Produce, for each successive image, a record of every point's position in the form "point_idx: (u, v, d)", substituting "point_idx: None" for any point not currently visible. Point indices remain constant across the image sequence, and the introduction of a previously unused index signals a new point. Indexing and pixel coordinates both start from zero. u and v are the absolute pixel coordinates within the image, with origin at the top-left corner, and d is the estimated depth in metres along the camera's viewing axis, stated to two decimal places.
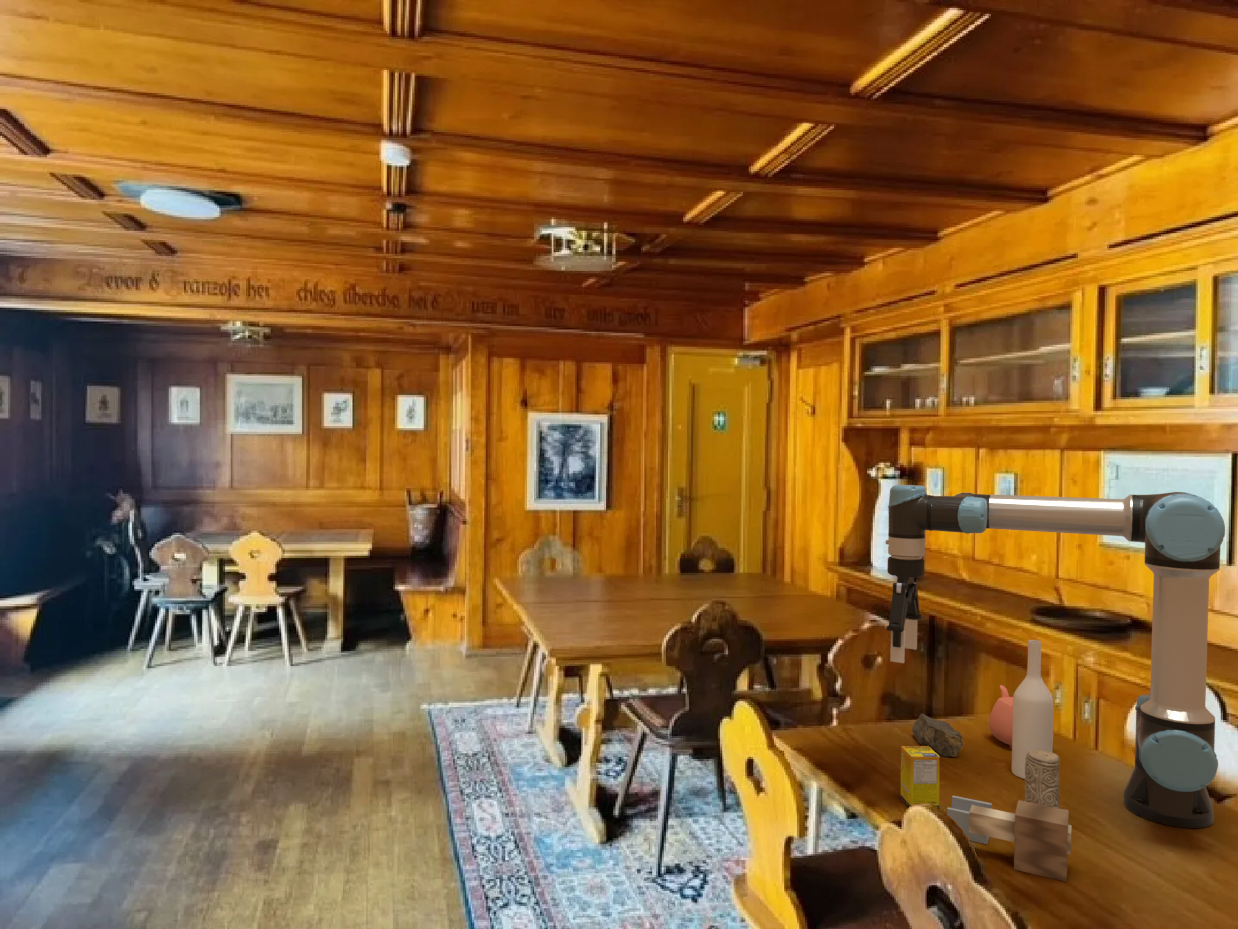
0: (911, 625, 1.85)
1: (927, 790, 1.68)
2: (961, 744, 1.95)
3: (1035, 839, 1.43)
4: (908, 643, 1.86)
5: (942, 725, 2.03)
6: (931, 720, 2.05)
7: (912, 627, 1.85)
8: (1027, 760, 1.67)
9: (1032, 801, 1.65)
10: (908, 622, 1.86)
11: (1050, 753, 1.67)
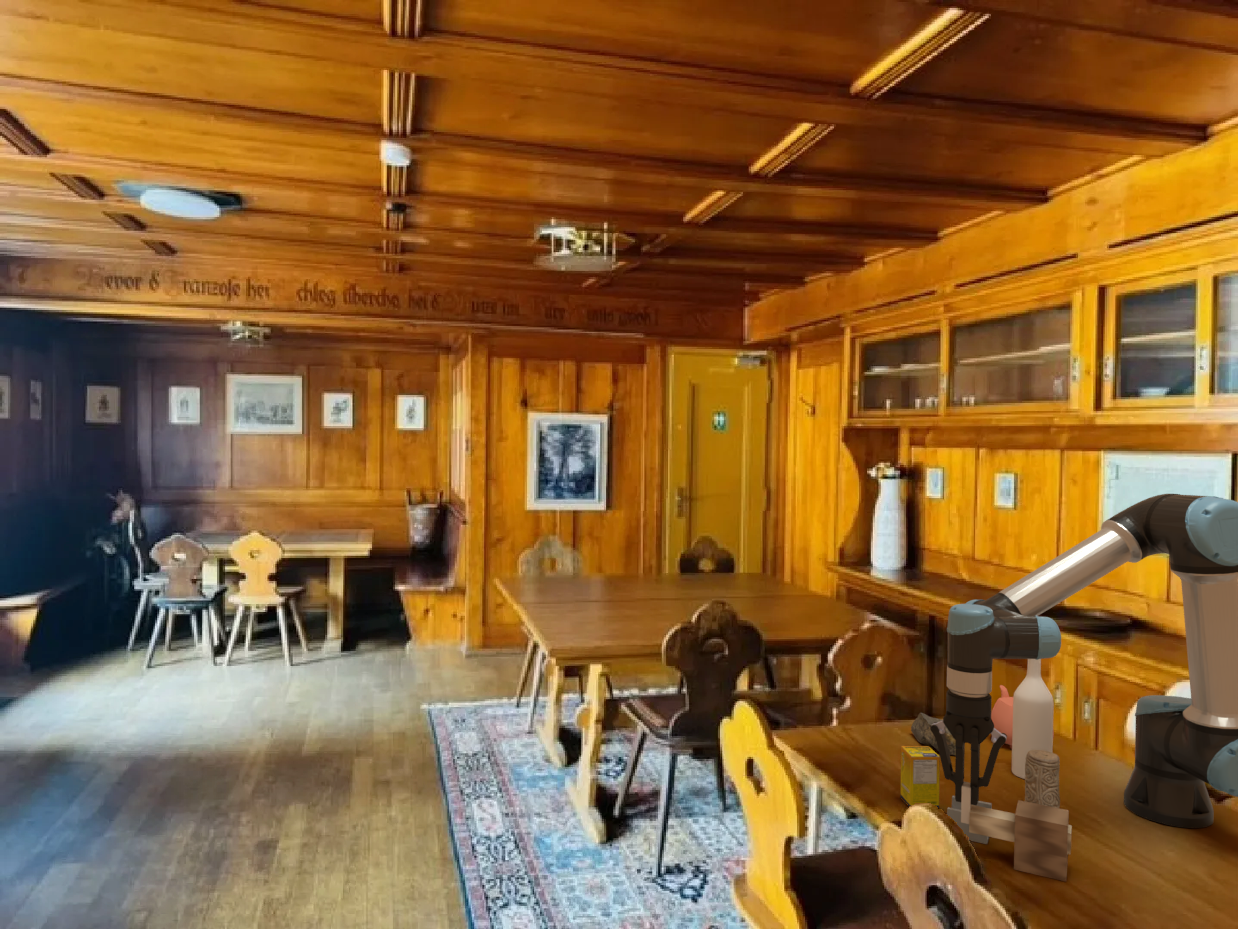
0: None
1: (927, 790, 1.68)
2: None
3: (1035, 839, 1.43)
4: None
5: None
6: (931, 719, 2.06)
7: None
8: (1027, 760, 1.67)
9: (1032, 801, 1.65)
10: None
11: (1050, 753, 1.67)
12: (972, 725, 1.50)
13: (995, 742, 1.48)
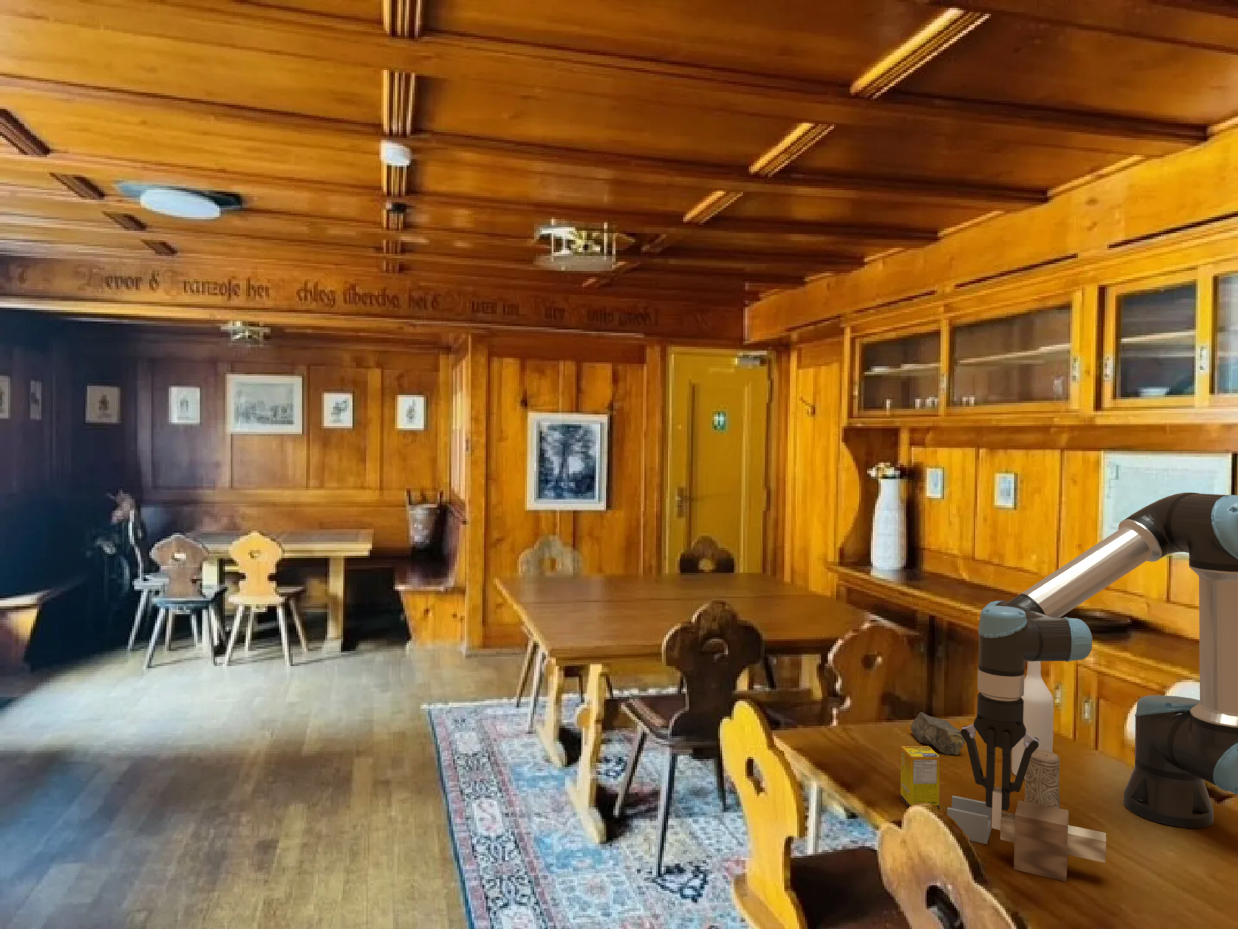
0: None
1: (927, 790, 1.68)
2: (963, 742, 1.96)
3: (1035, 839, 1.43)
4: None
5: (942, 723, 2.04)
6: (931, 718, 2.06)
7: None
8: None
9: (1032, 801, 1.65)
10: None
11: (1050, 753, 1.67)
12: (1004, 729, 1.47)
13: (1027, 747, 1.45)
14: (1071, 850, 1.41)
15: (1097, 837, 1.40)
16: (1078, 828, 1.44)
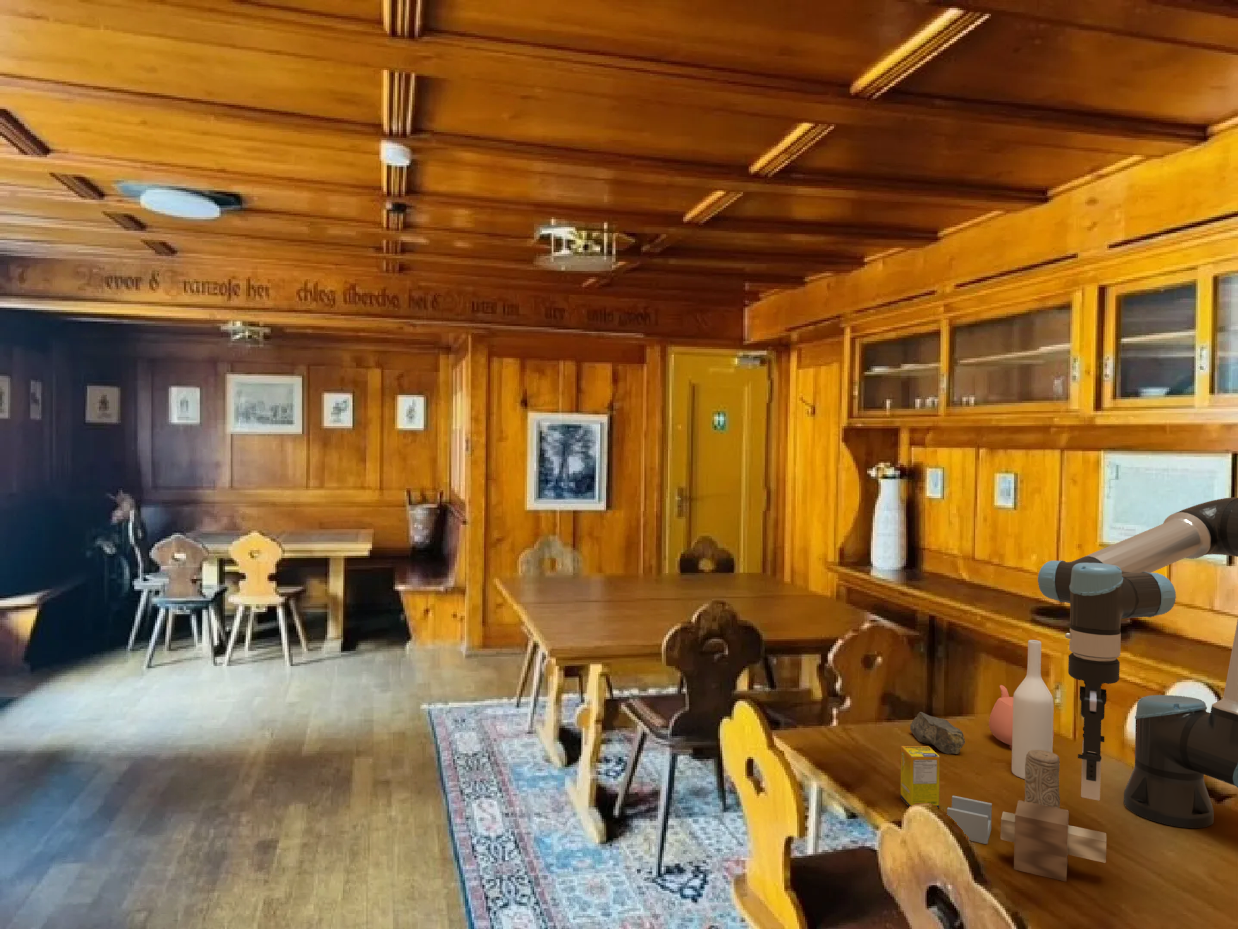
0: None
1: (927, 790, 1.68)
2: (963, 741, 1.97)
3: (1035, 839, 1.43)
4: None
5: (942, 723, 2.04)
6: (930, 718, 2.06)
7: (1094, 752, 1.45)
8: (1027, 760, 1.67)
9: (1032, 801, 1.65)
10: None
11: (1050, 753, 1.67)
12: (1100, 690, 1.41)
13: None
14: (1071, 850, 1.41)
15: (1097, 837, 1.40)
16: (1078, 828, 1.43)
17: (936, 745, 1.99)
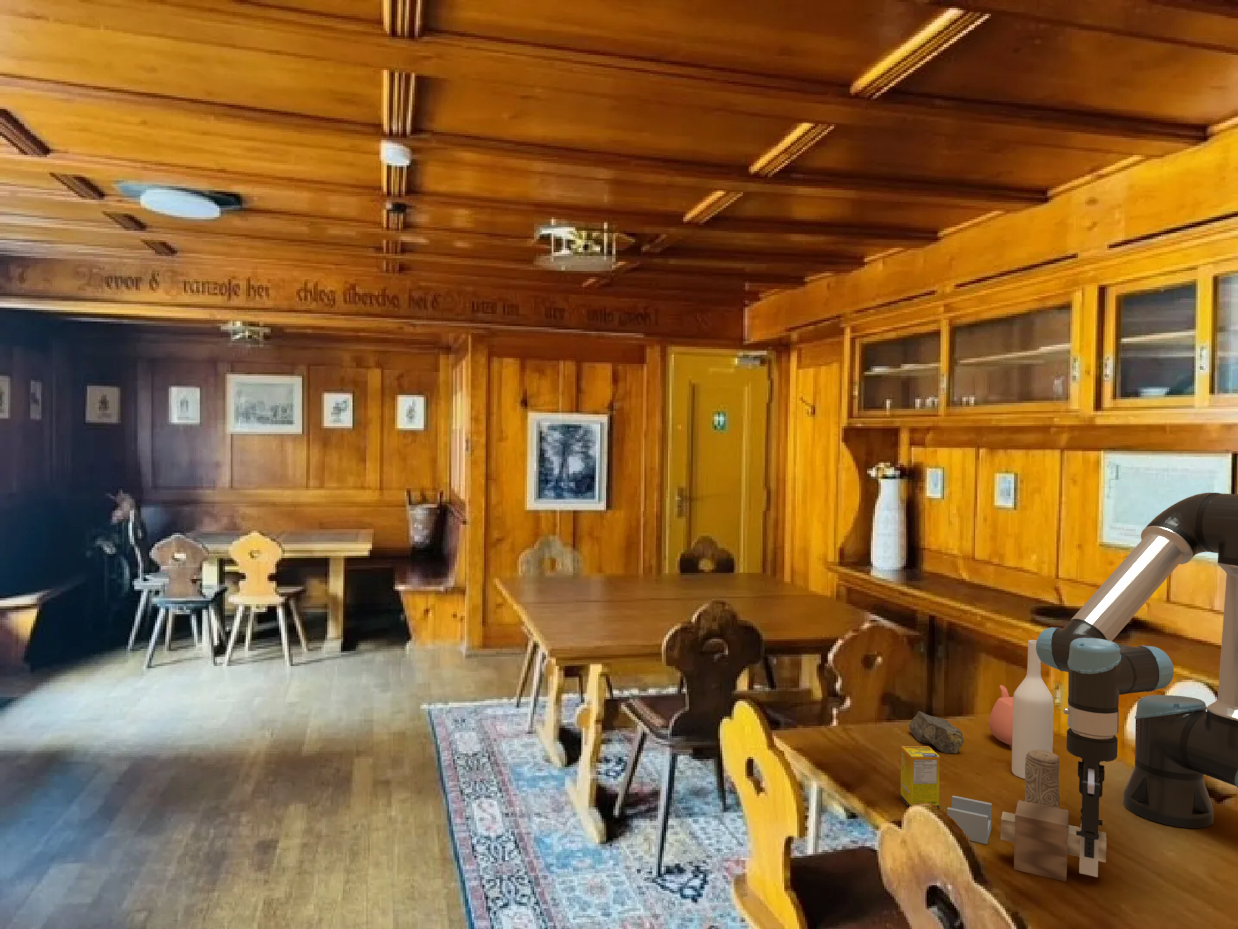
0: None
1: (927, 790, 1.68)
2: (962, 740, 1.97)
3: (1035, 839, 1.43)
4: None
5: (941, 722, 2.05)
6: (929, 717, 2.07)
7: None
8: (1027, 760, 1.67)
9: (1032, 801, 1.65)
10: None
11: (1050, 753, 1.67)
12: (1098, 765, 1.42)
13: None
14: (1071, 850, 1.41)
15: None
16: (1078, 828, 1.44)
17: (935, 744, 2.00)
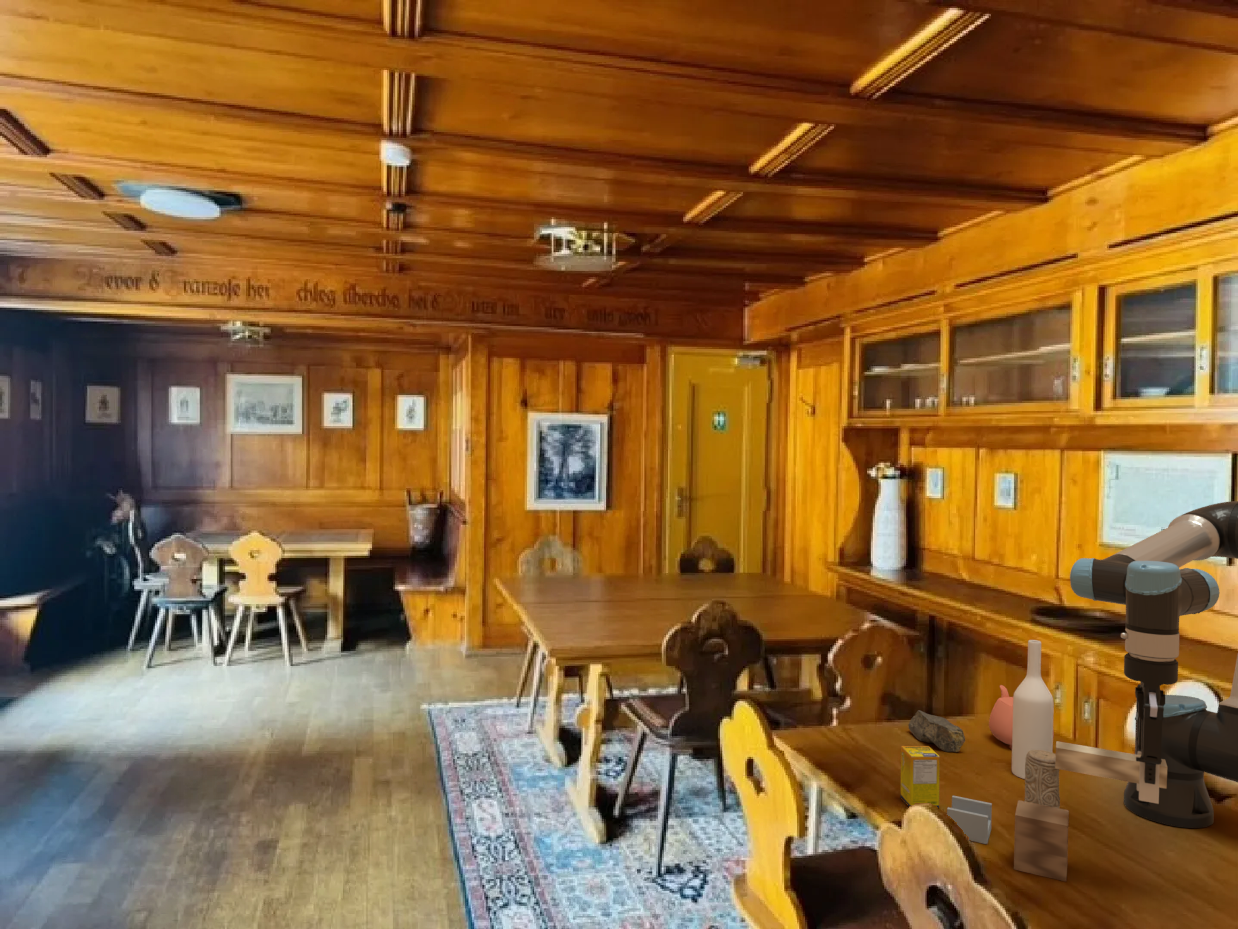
0: None
1: (927, 790, 1.68)
2: (963, 739, 1.98)
3: (1035, 839, 1.43)
4: None
5: (941, 721, 2.06)
6: (929, 716, 2.08)
7: None
8: (1027, 760, 1.67)
9: (1032, 801, 1.65)
10: None
11: (1050, 753, 1.67)
12: None
13: None
14: (1130, 777, 1.38)
15: None
16: (1136, 755, 1.40)
17: (936, 743, 2.01)
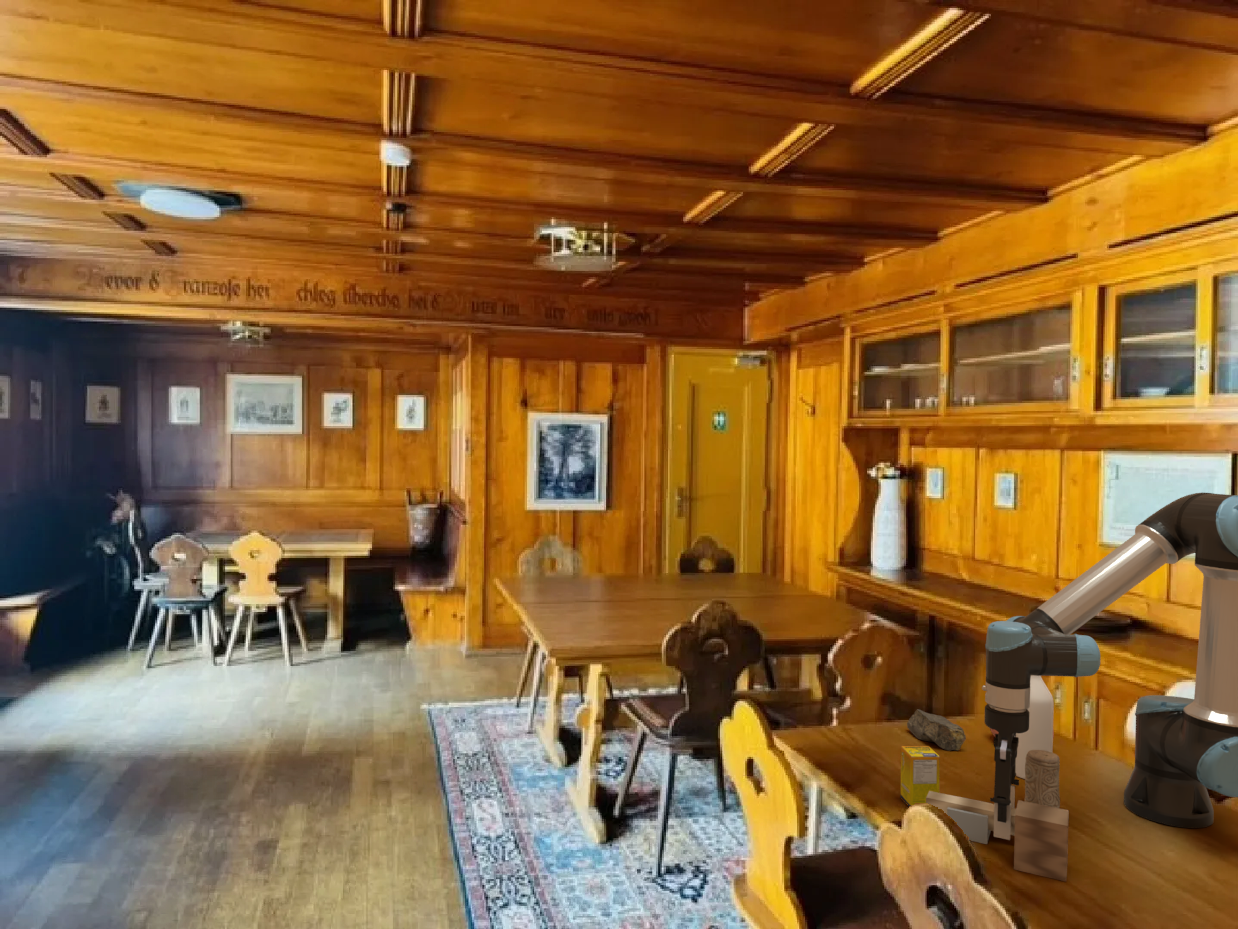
0: None
1: (927, 790, 1.68)
2: (964, 737, 2.00)
3: (1035, 839, 1.43)
4: None
5: (940, 719, 2.07)
6: (929, 715, 2.08)
7: None
8: (1027, 760, 1.67)
9: (1032, 801, 1.65)
10: None
11: (1050, 753, 1.67)
12: (1013, 738, 1.55)
13: None
14: (988, 825, 1.55)
15: None
16: None
17: (937, 742, 2.01)
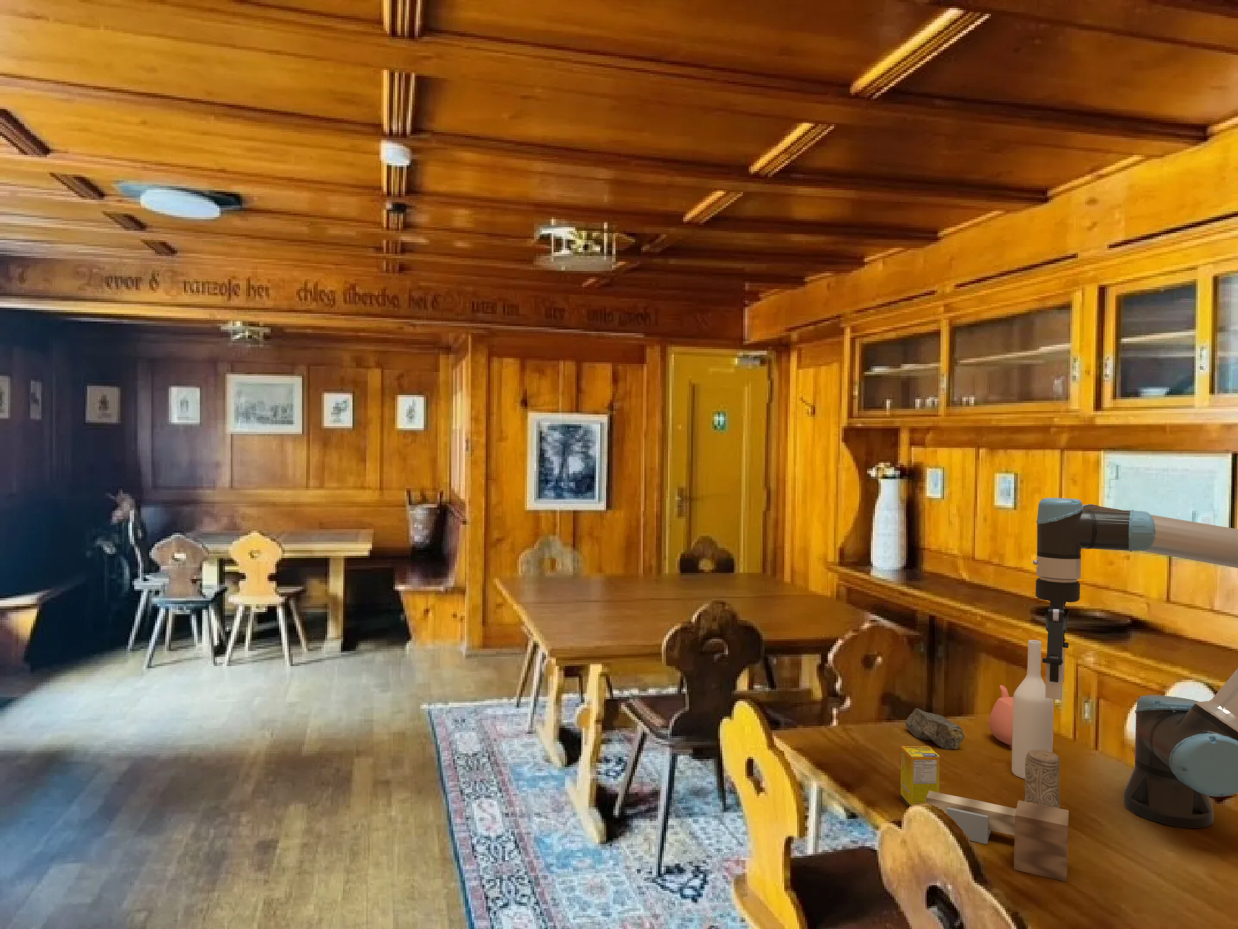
0: (1058, 655, 1.65)
1: (927, 790, 1.68)
2: (962, 736, 2.00)
3: (1035, 839, 1.43)
4: None
5: (939, 718, 2.08)
6: (927, 714, 2.09)
7: None
8: (1027, 760, 1.67)
9: (1032, 801, 1.65)
10: None
11: (1050, 753, 1.67)
12: (1063, 611, 1.59)
13: (1064, 608, 1.64)
14: (988, 825, 1.55)
15: (1010, 813, 1.54)
16: (995, 805, 1.57)
17: (936, 741, 2.02)
